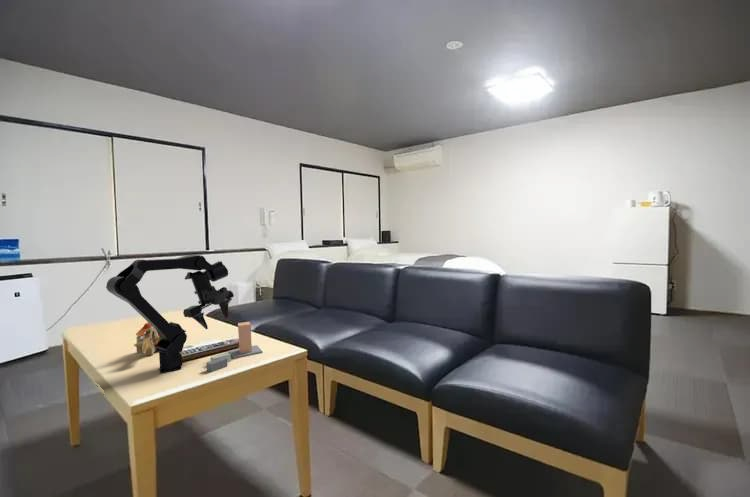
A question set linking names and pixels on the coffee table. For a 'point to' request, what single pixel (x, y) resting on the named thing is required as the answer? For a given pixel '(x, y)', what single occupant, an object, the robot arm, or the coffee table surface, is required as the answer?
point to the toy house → (147, 340)
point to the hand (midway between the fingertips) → (217, 323)
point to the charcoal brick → (216, 364)
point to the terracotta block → (244, 337)
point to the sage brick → (224, 355)
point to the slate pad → (237, 354)
